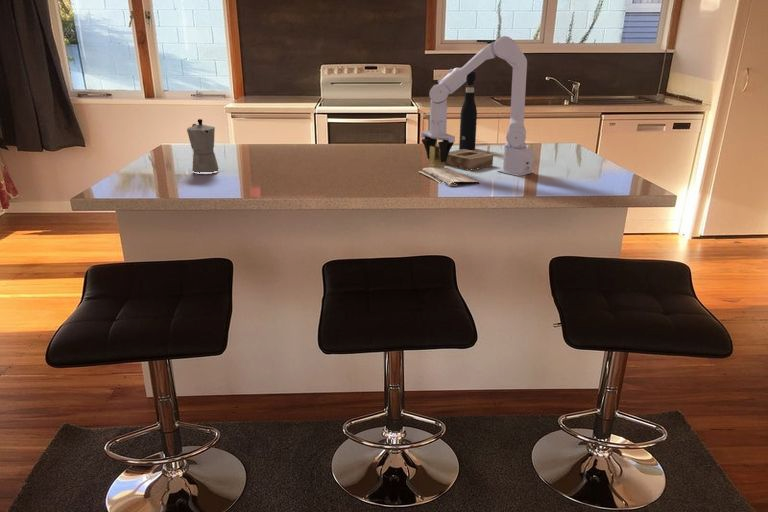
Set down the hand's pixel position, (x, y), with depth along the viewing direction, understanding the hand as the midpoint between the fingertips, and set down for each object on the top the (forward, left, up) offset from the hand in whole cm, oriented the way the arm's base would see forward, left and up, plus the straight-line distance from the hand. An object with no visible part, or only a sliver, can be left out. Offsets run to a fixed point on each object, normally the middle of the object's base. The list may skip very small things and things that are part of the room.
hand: (437, 160), depth 206 cm
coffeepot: (+49, +64, -3) cm, 81 cm away
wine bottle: (+17, -34, -3) cm, 38 cm away
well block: (-3, -12, -3) cm, 13 cm away
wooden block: (0, 0, -3) cm, 3 cm away
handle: (+21, -18, -3) cm, 28 cm away
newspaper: (-12, +7, -4) cm, 15 cm away
